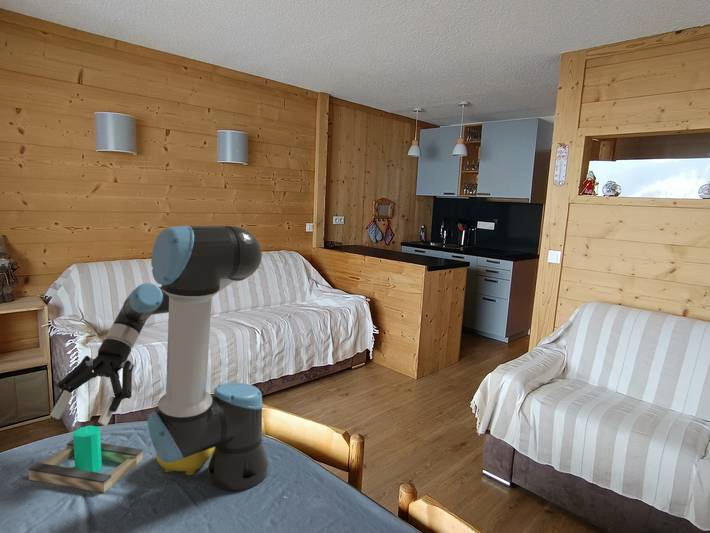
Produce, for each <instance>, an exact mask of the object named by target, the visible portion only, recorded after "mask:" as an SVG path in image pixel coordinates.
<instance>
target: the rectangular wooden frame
mask: <svg viewBox="0 0 710 533" xmlns="http://www.w3.org/2000/svg"><path fill="white" fill-rule="evenodd" d="M143 450H144V449H142V448H135V447H129V446H121V445H116V444H109V443H103V442H101V461H108V462H116V463H120V464H119V465H118V466H117V467H115V468H114V469H113V470H112V471H110V472H109V473H102V472H91V471H85V470H79V469H75V468H72V467H67V466H60V465H61V464H62V463H64V462H66V461H67V460H68V459H70V458H71V457H73V456H74V441H73V439H72V440H70V441H69V442H67V443H66V447H65V448H64V449H62V450H60V451H59V452H57V453H56V454H54V455H53V456H51V457H49V458H48V459H47V460H45V461H43V462H36V463H34V464H33V465H31V466H29V467H28V469H27V470H28V471H27V472H28V480H30V481H34V482H35V481H36V482H41V483H48V484H52V485H57V486H63V487H70V488H76V489H80V490H87V491H91V492H97V493H103V494H104V493H106V492H107V491H108V490H109V489H110V488H112V487H113V486H114V485H116V483H117V482H119V481H120V480H121V479H122V478H124V477H125V476H126V475H127V474H128V473H130V472H131V471H132V470H133V469H134V468H135V467H136V466H137V465H139V464H140V463H141V462H142V461H143V460H144V458H143V456H144V455H143V452H144V451H143Z"/></svg>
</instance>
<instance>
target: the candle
mask: <svg viewBox="0 0 710 533" xmlns="http://www.w3.org/2000/svg"><path fill="white" fill-rule="evenodd" d="M72 437H73V439H72V440H73V441H74V455H73V456H74V457H73V458H74V469H79V470H85V471H91V472H97V473H99V471H100V470H101V469H102V468H103V465H102V464H103V463H102V461H103V460H102V459H101V443H102V440H101V439H102V438H101V428H100V426H94V425H86V426H82V427H81V428H78V429H76V430H75V431H74V432H73V434H72Z"/></svg>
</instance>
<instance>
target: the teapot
mask: <svg viewBox="0 0 710 533" xmlns="http://www.w3.org/2000/svg"><path fill="white" fill-rule="evenodd" d="M214 448H215V447H213V448H210V449H207V450H205V451H202V452H199V453H196V454H193V455H191V456H188V457H185V458H184V459H180V460H176V461H173V462H168V463H167V462H164V461H162V460H161V459H160V458H159V456H158V454H157V453H156V452H155V453H156V456H155V458H156V461H157V463H158V464H159V465H160V467H162V468H163V469H164V472H166V473H170V472H172V471H174V472H185V474H186V475H188V476H193V475H195V474H196V473H197V470H198V469H199V468H202V466H204V464H206V462H207V461H208V460H210V458H211V457H212V454H213V451H214Z"/></svg>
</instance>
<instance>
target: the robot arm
mask: <svg viewBox="0 0 710 533" xmlns="http://www.w3.org/2000/svg"><path fill="white" fill-rule="evenodd" d="M262 257H263V253H262V248H261V245H260V243H259V241H258V239H257V238H256V237H255V236H254V235H253V234H252V233H251V232H250V231H248V230H246V229H244V228H243V227H240V226H235V225H185V224H184V225H180V226H170V227H166V228H164V229H162V230H161V231H160V232H159V234H158V235H157V237H156V239H155V240H154V244H153V247H152V251H151V260H150V261H151V263H150V264H151V267H152V270H151V272H152V273H151V274H152V276H153V279H154V281H155V282H156V284H159V285H161V286H158V285H156V284H153V283H151V282H149V283H148V282H145V283H141V284H139V285H137V287H135V288H134V289H133V290H132V291H131V293H129V295H128V297H127V298H126V299H125V301H124V302H123V305H122V306H121V308H120V311H119V313H118V314H117V316H116V317H115V320H114V322H113V324H112V325H111V327H110V329H109V330H108V332H107V334H106V335H105V339H104V340H103V341H102V342H101V345H100V346H99V348H98V351H97V355H96V357H95V358H92V357H90V356H88V355H85V356H84V357H83V359H82V360H81V362H80V363H79V364H78V365H76V366H75V367H74V369H72V370H71V371H70V372H69V373H68V374H67V375H66V376H64V378H62V379H61V380H60V381H59V382H58V383H56V387H58V389H60V390H61V391H60V393H59V394H58V397H57V398H56V400H55V405H54V407H53V409H52V410H51V412H50V414H49V416H50V417H52V418H54V419H56V420H60V419H61V417H62V415H63V413H64V411H65V409H66V408H67V406H68V405H69V402H70V400H71V399H72V397H73V392H74V391H75V390H77V389H78V388H80V387H82V385H84V384H86V383H87V382H89V381H91V379H94V378H97V377H101V378H103V377H105V378H109V379H110V383H111V387H112V391H113V392H112V393H113V394H112V395H113V396H112V395H110V397H109V398H108V401H107V403H106V405H105V407H104V409H103V411H102V413H101V415H100V416H99V419H98V420H97V422H98V423H99V424H100V425H102V426H105V427H107V426H108V424H109V422H110V420H111V418H112V415H113V414H114V413H116V412H117V410H118V408H119V406H120V404H121V402H122V401H123V400H124V399H131V398H132V396H133V395H132V391H133V390H132V387H133V386H132V384H133V383H132V382H133V381H132V380H133V379H132V378H133V377H132V376H133V370H134V367H135V365H134V364H133V363H132V362H131V361H130V360H129V359H128V358H129V356H130V354H131V352H132V348H134V346H135V344H136V342H137V340H138V338H139V336H140V334H141V331H142V330H143V328H144V326H145V324H146V323H147V321H148V320H149V318H150V317H151V316H153V315H160V314H168V321H167V324H168V326H167V347H166V348H167V352H166V354H167V355H166V356H167V357H166V380H165V381H166V384H165V387H166V388H165V394H163V395H162V396H161V397H160V398H159V399H158V403H157V411H153V412H151V413H150V414H148V416H147V428H148V432H149V436H150V439H151V442H152V445H153V448H154V451H155V453H157V454H158V456H159V458H160V459H161V460H162V461H164V462H167V463H168V462H173V461H176V460H180V459H184V458H185V457H188V456H191V455H193V454H196V453H199V452H202V451H205V450H207V449H210V448H213V447H214V450H213V452H212V454H211V456H210V459H209V460H210V461H209V464H208V466H207V467H208V468H207V479H208V482H209V483H210V484H211V485H212V487H215V488H217V489H218V490H223V491H229V492H230V491H231V492H235V491H236V492H237V491H244V490H247V489H251V488H253V487H254V486H256V485H258V484H260V483H262V482H263V481H264V480H265V479H266V477H267V476H268V473H269V459H268V456H267V453H266V451H265V448H264V445H263V440H262V439H263V438H262V437H263V407H264V404H263V395H262V391H261V390H260V389H259V388H258V387H256V386H254V385H253V384H249V383H244V382H226V383H222V384H219V385H217V386H216V387H214V388H215V389H214V391H213V395H211V394H210V393H209V392H208V391H207V386H208V385H207V382H208V368H209V367H208V365H209V364H208V362H209V349H210V331H211V313H212V299H213V297H215V295H217V294H218V293H220V291H222V290H224V289H225V288H227V287H228V286H230V285H231V284H232V283H234V282H240V281H244V280H246V279H247V278H249V277H250V276H252V275H253V274H255V272H256V271H257V270H258V269H259V267H260V265H261V262H262V260H263V258H262ZM120 370H122V373H121V374H122V377H121V378H122V381H120V374H119V371H120Z"/></svg>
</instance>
